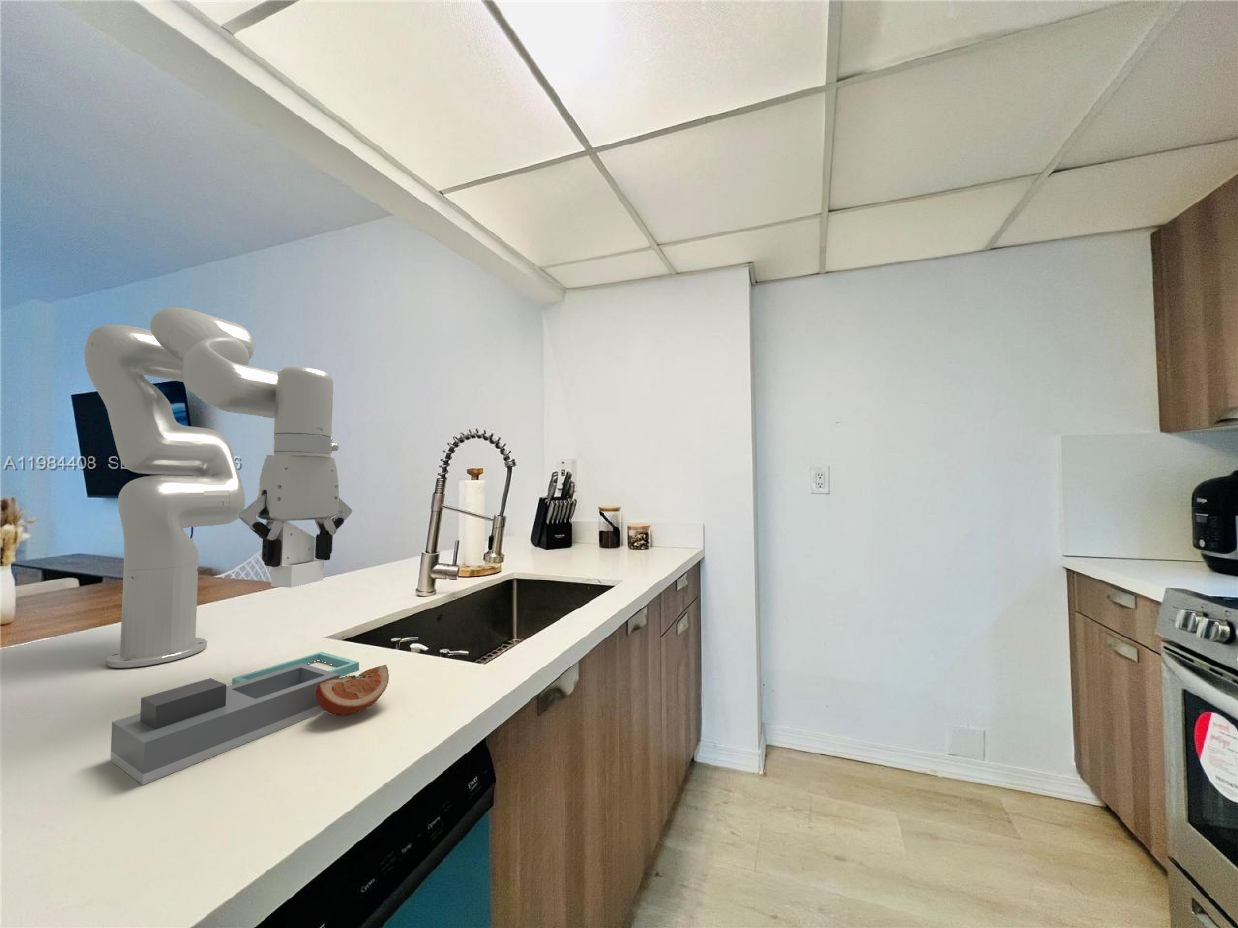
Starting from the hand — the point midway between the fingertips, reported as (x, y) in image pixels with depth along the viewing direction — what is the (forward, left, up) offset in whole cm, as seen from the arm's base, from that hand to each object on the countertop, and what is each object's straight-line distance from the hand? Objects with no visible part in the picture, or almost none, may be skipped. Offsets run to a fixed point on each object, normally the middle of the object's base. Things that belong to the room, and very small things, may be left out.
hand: (298, 561), depth 73 cm
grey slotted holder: (+11, -12, -18) cm, 24 cm away
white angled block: (0, 0, -3) cm, 3 cm away
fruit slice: (+19, -3, -18) cm, 26 cm away
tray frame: (0, 0, -18) cm, 18 cm away
